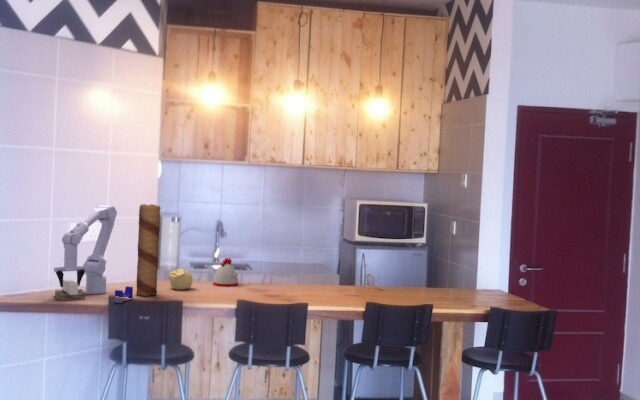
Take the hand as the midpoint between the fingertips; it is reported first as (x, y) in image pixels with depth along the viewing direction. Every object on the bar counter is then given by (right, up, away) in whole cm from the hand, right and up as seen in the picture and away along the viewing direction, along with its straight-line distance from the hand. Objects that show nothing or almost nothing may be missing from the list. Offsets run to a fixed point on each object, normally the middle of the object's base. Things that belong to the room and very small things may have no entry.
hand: (69, 286), depth 307 cm
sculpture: (+45, -6, +35) cm, 57 cm away
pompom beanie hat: (+66, -7, +54) cm, 86 cm away
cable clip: (+25, -7, -2) cm, 27 cm away
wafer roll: (+32, -6, +15) cm, 36 cm away
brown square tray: (0, -5, 0) cm, 5 cm away
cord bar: (0, -3, 0) cm, 3 cm away
